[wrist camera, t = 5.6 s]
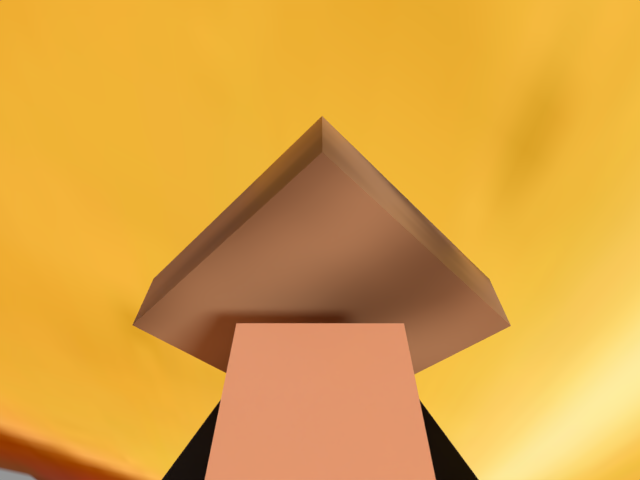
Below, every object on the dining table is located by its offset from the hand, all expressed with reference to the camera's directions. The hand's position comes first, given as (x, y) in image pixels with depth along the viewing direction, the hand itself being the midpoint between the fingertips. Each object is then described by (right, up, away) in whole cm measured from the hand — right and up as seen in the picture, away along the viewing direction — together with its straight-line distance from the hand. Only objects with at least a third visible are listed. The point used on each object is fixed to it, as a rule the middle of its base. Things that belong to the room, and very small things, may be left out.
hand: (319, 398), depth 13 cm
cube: (0, +1, +1) cm, 1 cm away
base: (0, +3, +4) cm, 6 cm away
